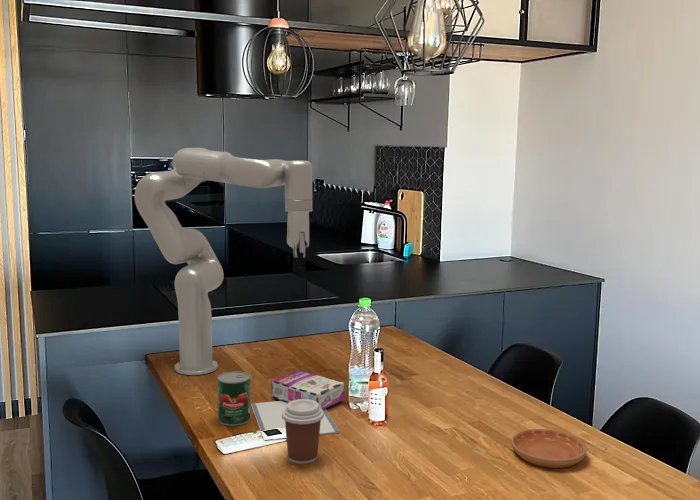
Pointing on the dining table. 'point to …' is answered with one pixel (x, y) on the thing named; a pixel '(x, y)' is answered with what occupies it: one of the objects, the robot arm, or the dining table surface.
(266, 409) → the mat
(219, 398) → the canned tomato
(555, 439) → the saucer
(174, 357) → the dining table surface
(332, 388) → the candy bar box
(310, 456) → the coffee cup
